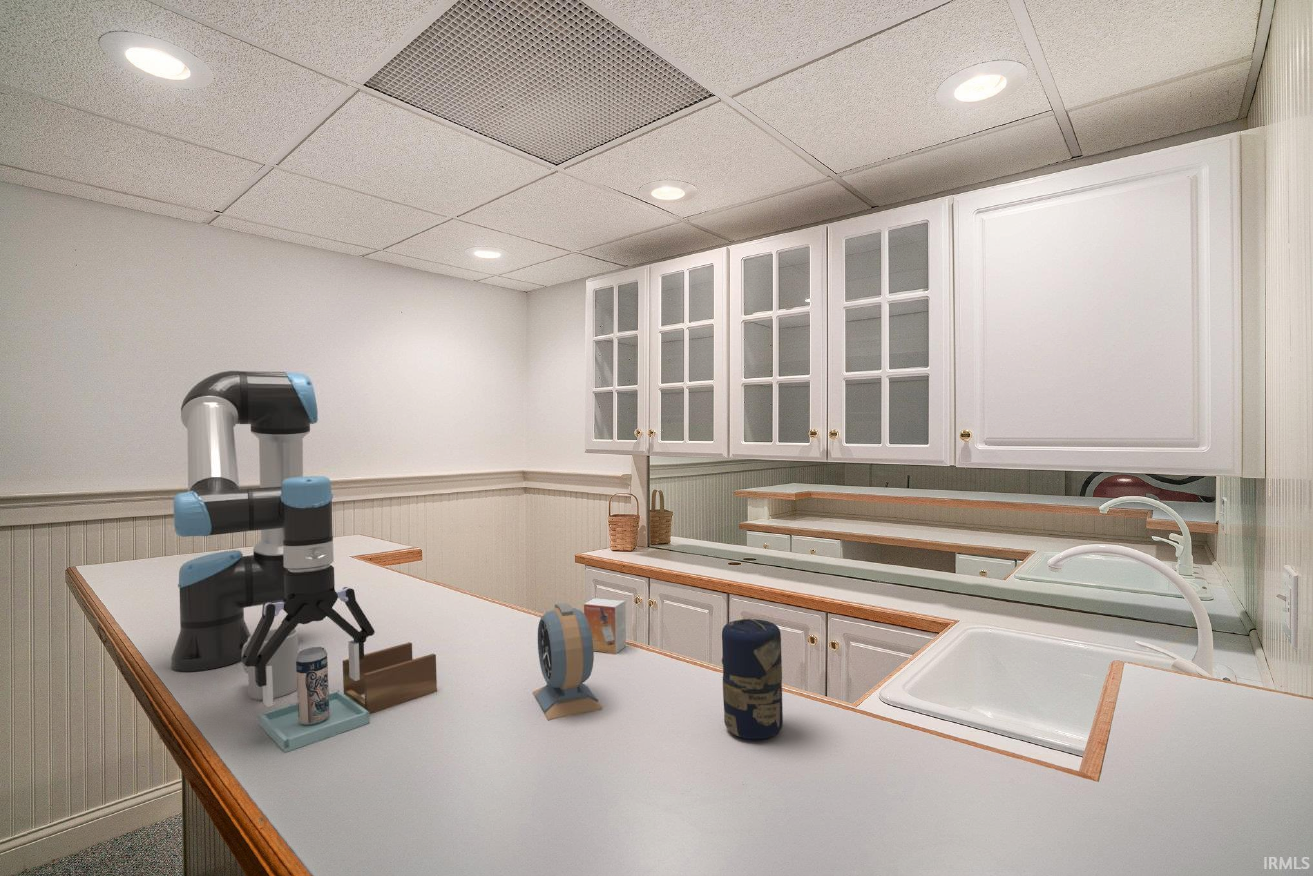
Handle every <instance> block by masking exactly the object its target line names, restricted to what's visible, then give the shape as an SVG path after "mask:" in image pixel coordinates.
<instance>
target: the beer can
mask: <svg viewBox="0 0 1313 876" xmlns="http://www.w3.org/2000/svg"><path fill="white" fill-rule="evenodd" d="M328 666H329V665H328V652H327V650H326V649H325V647H322V646H312V647H308V648H304V649H302V650H300V651H299V654H298V656H297V658H296V673H297V690H296V691H297V693H296V695H297V703H298V722H299V723H301V724H304V725H314V724H318V723H320V722H322V721H324V720H325V719H326V718H328V717H329V715H330V712H329V689H330V688H329V670H328V669H329V667H328Z"/></svg>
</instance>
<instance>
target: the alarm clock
mask: <svg viewBox="0 0 1313 876" xmlns="http://www.w3.org/2000/svg"><path fill="white" fill-rule="evenodd" d="M537 653H538V660H539V665H540V670H541V674H542V677H543V679H544V681H545V683H546V685H544V686H542V687H540V688H539V689H536V690H535V691H532V695H533V697H534V698H535V700H536V702H537V705H538V706H539V707H540V709H541V711H542V713H543V715H544V717H545V718H546V720H547V721H552V720H557V719H562V718H567V717H571V716H576V715H580V714H586V713H591V712H594V711H595V712H596V711H600V710H603V707H602V705H601V704H600V703H599V699H598V698H597V697H596V696H595V694H594V693H593V692H592V691H591V690H590V688H589V687H588V685H587V684H585V682H586V681H587V680H588V679H590V677H591V675H592V672H593V668H594V661H595V660H594V658H595V657H594V656H595V654H594V653H595V651H594V649H593V639H592V634H591V629H590V626H589V623H588V620H587V618H586V616H585V615H584V611H582V610H580V609H578V608H576V607H572V606H571V605H570V603H568V602H564V603H563V602H561V603H556V604H554V608H553V609H551V610H550V611H547V612H546V613H544V614H543V615H542V616H541V617H540V620H539V622H538V627H537Z"/></svg>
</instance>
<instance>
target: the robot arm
mask: <svg viewBox="0 0 1313 876" xmlns="http://www.w3.org/2000/svg"><path fill="white" fill-rule="evenodd" d="M318 415H319V414H318V405H317V399H316V394H315V390H314V385H313V383H312V380H311V378H310V377H309V376H308V375H306V374H305V373H300V372H290V371H289V372H288V371H251V370H250V371H248V370H247V371H245V370H244V371H243V370H242V371H241V370H227V371H221V372H217V373H215V374H212V375H209V376H208V377H205V378H204V379H202V380H201V381H199V382H197V384H195V385H194V386H193V387H191V389H190V390H189V391H188V393H187V394H186V395H185V397H184V398H183V401H182V403H181V407H180V419H181V422H182V424H183V426H184V427H185V428H186V431H187V432H186V433H187V488H188V489H187V492H179V493H176V494H174V495H175V496H174V497H173V522H174V523H173V525H174V533H175V534H176V535H177V536H179V537H208V536H215V535H223V534H224V535H226V534H234V533H244V532H251V531H252V532H253V531H260V540H259V541H258V542H257V543H256V544H255V545H254V546H253V550H252V551H253V554H251V555H246V556H245V555H244V554H243V553H242V551H241V550H239V549H237V550H236V549H233V550H229V551H228V550H225V551H220V552H215V553H210V554H207V555H206V554H205V555H202V556H199V557H196V558H193V559H190V560H188V561H186V562H184V563H183V564H182V565H181V566H180V567H179V570H178V584H177V587H178V588H179V619H180V620H179V621H180V624H179V625H180V630H179V634H178V636H177V640H176V642H175V645H174V648H173V651H172V655H171V659H170V660H171V668H172V670H175V671H178V672H197V671H198V672H199V671H206V670H212V669H218V668H221V667H225V666H230V665H232V664H235V663H238V662H239V663H240V662H241V664H242V663H243V664H244V665H245V666H247V667H250V666H254V667H255V682H256V684H257V685H258V686H259V687H262V686H263V700H262V703H263V704H264V705H265V706H266V707H267V708H269V707H272V706H274V698H273V681H272V665H270V664H269V663H268V662H269V660H270V659H271V658H272V656H273V655H274V654H275V652H276V651H277V650H278V648H279V647H280V646H281V644H282V643H283V642H284V640H285V639H286V638H287V636H288V635H289V634H290V632H291V631H292V630H293V629H296V627H297V626H298V625H299V624H302V625H308V624H310V623H312V622H321V621H323V620H324V619H325V618H326V617H327V618H329V619H330V620H331V621H332V622H333V623H334V624H335V625H337V626H338V627H339V628H340V629H341V630H343V631H344V632H345V633H346V634H348V636H350V637H351V638H352V640H348V641H347V642H348V646H347V647H348V659H349V677H350V678H352V679H353V680H355V681H357V680H360V673H359V659H363V657H364V655H365V642H367V639H368V637H371V636H374V635H375V633H376V631H375V629H374V627H373V626H372V624H371V622H370V620H369V619H368V618H367V616H366V614H365V613H364V612H363V610H362V607H360V605H359V603H358V602H357V599H356V594H355V593H356V592H355V589H354V588H351V587H349V586H344V587H343V588H342V589H341V590H336V589H335V586H336V585H335V567H334V566H333V565H331V564H333V563H334V559H335V558H334V536H333V498H334V494H333V492H332V483H331V480H330V478H328V477H327V476H325V475H324V476H319V475H315V476H314V475H313V476H312V475H309V476H304V462H303V461H304V456H303V455H304V454H303V453H304V449H303V447H304V444H303V439H304V438H305V437H306V436H307V435H308V434H309V433H310V432H311V425H314V424H317V422H318V420H319V417H318ZM236 425H250V433H251V434H252V435H253V436H255V437H256V438H257V439H258V446H259V448H258V453H259V455H258V456H259V461H258V462H259V487H255V488H254V487H253V488H248V487H247V488H240V481H239V471H238V460H237V451H236V450H237V449H236V441H235V440H236V439H235V430H234V428H235V426H236ZM243 555H244V556H243ZM338 599H339V600H340V601H341V602H343V603H344V604H345V606H346V607H347V609H348V611H349V612H350V613H351V615H352V616H353V618H354V620H355V622H356V623H357V624H358V627H359V628H360V629H361V630H360V631H359V630H358V629H357V628H356V627H354V626H353V625H352V624H351V623H349V622H348V621H347V620H346V619H345V618H344V617H342V616H341V615H340V613H339V612H337V611H336V610H335V609H334V608H333V607H334V605H335V604H336V603H337V601H338ZM258 606H262V610H261V611H262V612H261V617H260V619H259V621H258V623H257V625H256V627H255V629H254V631H253V634H252V633H251V631H250V629H249V628H248V626H247V623H246V621H245V614H244V613H245V610H244V609H246V608H250V607H258ZM282 610H283V611H284V612H285V613H286V615H285V616H284V618H283V619H282V621H281V622H280V623H281V624H280V625H279V626H278V628H276V629H277V630H276V631H275V633H274V634H273V635H272V637H271V638H270V639H269V641H268V642H267V643H266V645H265V646H264V647H263V649H262V650H261V651H260V649H261V646H262V644H263V642H264V640H265V638H266V636H267V634H268V632H269V630H271V627H272V625H273V622H274V620H275V617H278V615H279V613H280V612H281V611H282ZM251 634H252V635H251ZM250 636H252V638H251V640H250V642H249V644H248V646H247V648H246V650H245V652H244V654H243V656H242V648H243V645H244V644H245V643H246V642H247V640H248V638H249V637H250ZM259 651H260V652H259ZM258 653H259V654H258Z"/></svg>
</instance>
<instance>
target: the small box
mask: <svg viewBox="0 0 1313 876" xmlns="http://www.w3.org/2000/svg"><path fill="white" fill-rule="evenodd" d="M583 613H584V615H585V616H586V618H587V620H588V623H589V626H590V629H591V634H592V639H593V649H594V652H600V653H601V652H602V653H606V654H611V655H616V654H617V653H619V652H620V651H622V650H623V649H625V647H626V646H627V632H626V631H627V626H626V625H627V623H626V621H627V620H626V619H627V618H626V615H627V613H626V600H618V599H604V598H598V597H595V598H593V599H591V600H588V601H587V602H585V603H584V604H583Z"/></svg>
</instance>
